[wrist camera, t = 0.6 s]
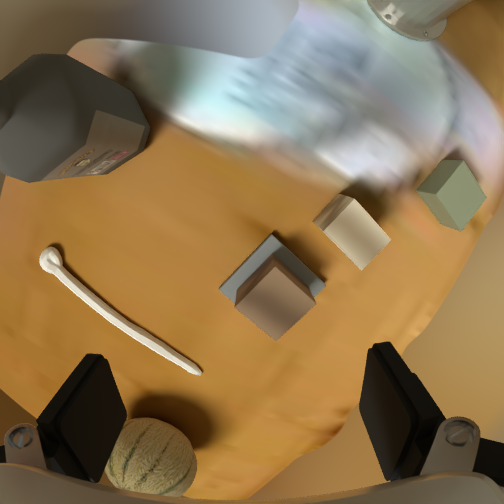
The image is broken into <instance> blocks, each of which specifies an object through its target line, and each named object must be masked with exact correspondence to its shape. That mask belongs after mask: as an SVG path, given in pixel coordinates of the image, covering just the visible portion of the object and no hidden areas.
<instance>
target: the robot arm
mask: <svg viewBox="0 0 504 504" xmlns="http://www.w3.org/2000/svg"><path fill="white" fill-rule="evenodd" d="M471 1H472V0H367V2H368V4H369V6H370V7H371V9H372V11H373V12H374V13H375V14H376V15H377V17H378V18H379V19H380V20H381V21H382V22H383V23H384V24H386V25H387V26H388V27H390V28H391V29H392V30H394V31H395V32H397V33H399V34H401V35H403V36H405V37H407V38H410V39H414V40H419V41H430V40H433V39H435V38H437V37H438V36H440V35H441V34H442V33H443V32H444V30H445V28H446V25H447V17H448V16H449V15H451V14H452V13H454V12H455V11H457V10H458V9H460V8H461V7H463V6H464V5H466V4H468V3H469V2H471ZM359 409H360V413H361V416H362V419H363V421H364V424H365V427H366V429H367V432H368V434H369V437H370V440H371V442H372V445H373V448H374V450H375V453H376V456H377V458H378V461H379V464H380V466H381V469H382V472H383V475H384V477H385V479H386V480H387V481H389V480H390V481H391V482H387V483H383V484H379V485H374V486H369V487H365V488H360V489H354V490H348V491H342V492H336V493H330V494H323V495H315V496H307V497H297V498H286V499H270V500H207V499H192V498H180V497H171V496H162V495H155V494H148V493H141V492H135V491H130V490H124V489H119V488H114V487H109V486H105V485H101V484H97V483H98V482H99V481H100V479H101V477H102V474H103V471H104V469H105V467H106V465H107V462H108V460H109V458H110V455H111V453H112V451H113V448H114V446H115V444H116V441H117V439H118V437H119V435H120V432H121V430H122V428H123V426H124V423H125V421H126V418H127V412H126V409H125V406H124V404H123V401H122V399H121V396H120V393H119V391H118V388H117V385H116V383H115V380H114V377H113V374H112V371H111V368H110V365H109V362H108V360H107V359H105V358H104V357H103V355H101V354H86V355H85V357H84V358H83V359H82V361H81V362H80V363H79V364H78V366H77V367H76V368H75V369H74V371H73V372H72V373H71V375H70V376H69V377H68V378H67V380H66V381H65V382H64V384H63V385H62V386H61V388H60V389H59V390H58V392H57V393H56V394H55V396H54V397H53V398H52V400H51V401H50V402H49V404H48V405H47V406H46V408H45V409H44V410H43V412H42V413H41V415H40V416H39V417H38V419H37V420H36V422H37V423H38V426H37V428H35V427H34V426H33V425H30V424H19V425H16V426H14V427H13V428H11V429H10V430H9V431H8V432H7V433H6V436H5V441H4V443H5V445H3V446H0V504H504V443H500V442H496V441H492V440H488V439H484V438H480V429H479V427H478V426H477V424H476V423H475V422H474V421H472V420H470V419H468V418H465V417H458V416H457V417H451V418H449V419H446V418H445V417H444V415H443V414H442V412H441V411H440V409H439V407H438V406H437V404H436V403H435V402H434V400H433V398H432V397H431V396H430V394H429V393H428V391H427V390H426V388H425V387H424V385H423V384H422V382H421V381H420V380H419V378H418V377H417V375H416V374H415V373H412V372H411V371H410V369H409V368H408V367H407V365H406V364H405V362H404V361H403V359H402V358H401V357H400V355H399V354H398V352H397V351H396V349H395V348H394V347H393V345H392V344H391V343H390V342H382V343H375V344H373V347H372V348H369V349H368V353H367V360H366V367H365V374H364V380H363V386H362V392H361V398H360V403H359Z"/></svg>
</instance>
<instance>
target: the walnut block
mask: <svg viewBox="0 0 504 504" xmlns="http://www.w3.org/2000/svg"><path fill="white" fill-rule="evenodd" d="M315 305H316V302H315V299H314V297H313V295H312V293H311V291H310V289H309V286H307V285H306V284H305V283H304V282H303V281H302V280H301V279H300V278H299V277H298V276H297V275H296V274H294V273H293V272H292V271H291V270H290V269H289V268H288V267H287V266H286V265H285V264H283V263H282V262H281V261H280V260H279V259H278V258H277V257H276V256H275V255H274V254H273V253H272V254H271V255H270V256H269V257H268V258H267V259H266V260H265V261H264V262H263V263H262V264H261V265H260V266H259V267H258V268H257V269H256V270H255V271H254V272H253V273H252V274H251V275H250V276H249V277H248V278H247V279H246V281H245V282H244V283H243V284H242V285H241V286H240V287H239V288H238V289H237V291H236V299H235V308H236V309H237V310H238V311H240V312H241V313H242V314H243V315H244V316H246V317H247V318H248V319H249V320H251V321H252V322H253V323H254V324H255V325H257V326H258V327H259V328H260V329H262V330H263V331H264V332H265V333H267V334H268V335H269V336H270V337H272V338H273V339H274V340H275V341H277V340H278V339H279V338H280V337H281V336H282V335H283V334H284V333H286V332H287V331H288V330H289V329H290V328H291V327H292V326H293V325H294V324H295V323H296V322H298V321H299V320H300V319H301V318H302V317H303V316H304V315H305V314H306V313H307V312H308V311H309V310H310V309H311V308H313V307H314V306H315Z"/></svg>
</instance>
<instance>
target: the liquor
mask: <svg viewBox="0 0 504 504" xmlns="http://www.w3.org/2000/svg"><path fill="white" fill-rule="evenodd" d="M150 129H151V128H150V126H149V124H148V122H147V120H146V118H145V116H144V114H143V112H142V110H141V108H140V106H139V103H138V101H137V99H136V97H135V95H134V93H133V92H132V91H130V90H129V89H127V88H125V87H124V86H122V85H120V84H118V83H117V82H115V81H113V80H111V79H110V78H108V77H106V76H104V75H103V74H101V73H99V72H97V71H96V70H94V69H92V68H90V67H88V66H86V65H85V64H83V63H81V62H79V61H77V60H75V59H73V58H72V57H70V56H68V55H64V54H37V55H32V56H31V57H29V58H28V59H27V60H25V61H24V62H23V63H22V64H20V65H19V66H18V67H16V68H15V69H14V70H13V71H12V72H10V73H9V74H8V75H7V76H6V77H4V78H3V79H2V80H0V172H2V173H4V174H6V175H7V176H10V177H13V178H16V179H19V180H22V181H25V182H28V183H30V182H38V181H45V180H53V179H62V178H71V177H81V176H92V175H103V174H108V173H110V172H111V171H113V170H114V169H116V168H117V167H119V166H120V165H122V164H124V163H125V162H127V161H128V160H130V159H131V158H133V157H135V156H136V155H138V154H139V153H141V152H143V151H144V147H145V144H146V141H147V138H148V135H149V132H150Z"/></svg>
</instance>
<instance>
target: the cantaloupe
mask: <svg viewBox="0 0 504 504" xmlns="http://www.w3.org/2000/svg"><path fill="white" fill-rule="evenodd" d="M104 470H105V472H106V474H107V476H108V478H109V479H110V481H111V482H112V483H113V484H114V485H115V486H116V487H117V488H119V489H124V490H130V491H135V492H141V493H148V494H155V495H162V496H171V497H180V496H181V495H183V494H184V493H185V492H186V491H187V490H188V488H189V487H190V486H191V484H192V482H193V480H194V478H195V475H196V471H197V459H196V455H195V453H194V450H193V448H192V445H191V443H190V441H189V439H188V438H187V437H186V436H185V435H184V434H183V433H182V432H181V431H180V430H178V429H177V428H175V427H174V426H172V425H170V424H168V423H166V422H163V421H161V420H158V419H155V418H134V419H130V420H127V421H125V423H124V426H123V428H122V430H121V432H120V435H119V437H118V439H117V441H116V444H115V446H114V448H113V451H112V453H111V455H110V458H109V460H108V462H107V465H106V467H105V469H104Z"/></svg>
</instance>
